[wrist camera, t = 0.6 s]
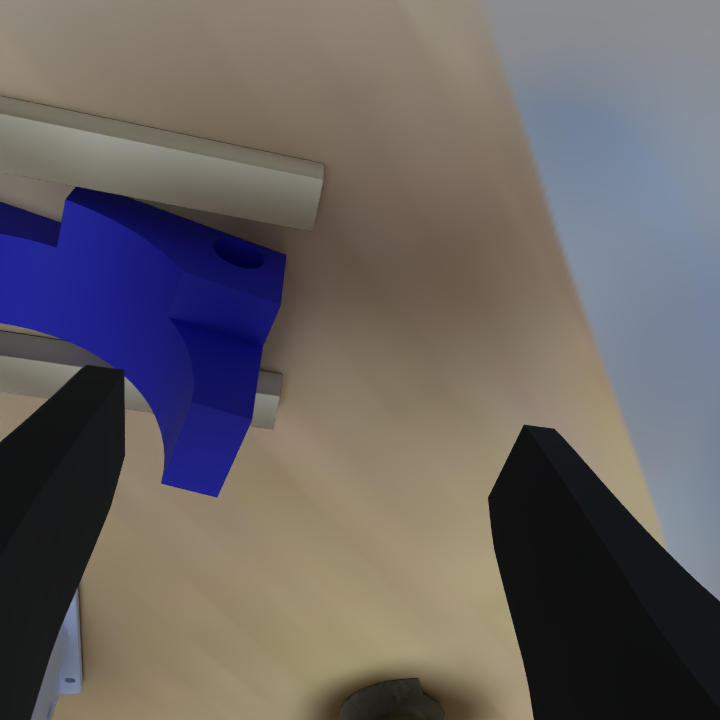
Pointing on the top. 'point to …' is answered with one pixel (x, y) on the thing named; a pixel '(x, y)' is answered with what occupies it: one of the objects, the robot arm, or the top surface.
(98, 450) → the robot arm
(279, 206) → the guide channel
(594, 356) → the top surface
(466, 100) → the top surface
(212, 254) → the blue cradle block
